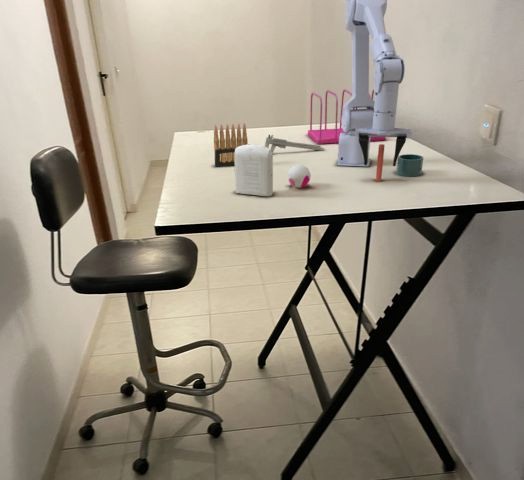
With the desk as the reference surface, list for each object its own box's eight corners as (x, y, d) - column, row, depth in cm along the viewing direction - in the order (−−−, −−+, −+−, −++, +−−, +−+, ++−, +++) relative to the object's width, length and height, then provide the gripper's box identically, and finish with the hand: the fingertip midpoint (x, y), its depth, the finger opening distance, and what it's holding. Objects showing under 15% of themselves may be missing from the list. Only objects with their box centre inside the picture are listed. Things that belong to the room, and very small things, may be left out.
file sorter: (385, 140, 189) (390, 92, 180) (317, 144, 186) (319, 95, 178) (370, 131, 203) (374, 86, 195) (307, 134, 201) (308, 89, 192)
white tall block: (275, 193, 139) (275, 144, 133) (269, 197, 136) (268, 147, 129) (239, 189, 143) (237, 141, 136) (233, 194, 139) (230, 145, 133)
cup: (395, 175, 150) (397, 159, 148) (396, 169, 156) (398, 153, 154) (421, 177, 149) (423, 160, 146) (421, 170, 154) (423, 154, 152)
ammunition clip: (248, 163, 167) (246, 122, 160) (249, 164, 165) (247, 123, 159) (214, 165, 165) (211, 124, 159) (215, 167, 164) (212, 125, 157)
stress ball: (301, 203, 142) (315, 184, 138) (278, 184, 141) (291, 164, 137) (309, 194, 148) (323, 175, 143) (287, 176, 147) (300, 156, 143)
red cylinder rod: (375, 181, 147) (378, 145, 141) (375, 179, 148) (379, 144, 143) (380, 181, 146) (384, 145, 141) (381, 179, 147) (384, 144, 142)
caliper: (265, 154, 176) (265, 134, 172) (265, 154, 177) (264, 134, 173) (324, 150, 179) (324, 130, 176) (323, 149, 180) (323, 130, 177)
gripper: (355, 113, 136) (351, 167, 143) (413, 114, 132) (406, 169, 140) (358, 108, 141) (354, 161, 149) (413, 109, 138) (407, 163, 145)
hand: (379, 164), depth 145 cm, fingers open, 7 cm apart
